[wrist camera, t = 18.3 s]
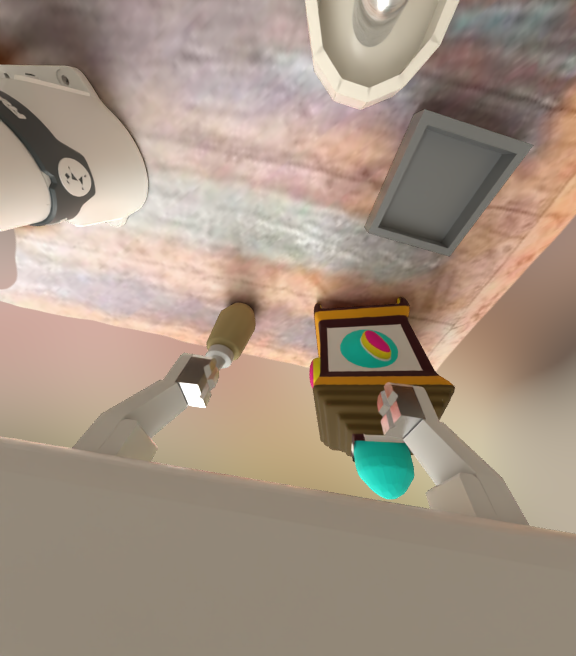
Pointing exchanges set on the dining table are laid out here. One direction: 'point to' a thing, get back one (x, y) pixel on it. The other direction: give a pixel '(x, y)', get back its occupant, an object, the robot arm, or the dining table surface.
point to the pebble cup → (375, 19)
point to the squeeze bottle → (231, 334)
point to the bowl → (373, 49)
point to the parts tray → (442, 181)
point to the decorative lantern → (369, 387)
